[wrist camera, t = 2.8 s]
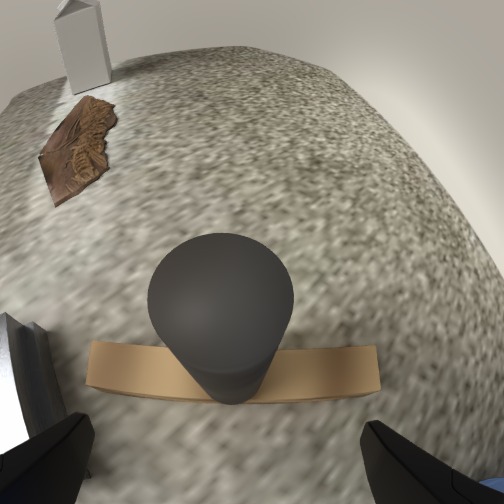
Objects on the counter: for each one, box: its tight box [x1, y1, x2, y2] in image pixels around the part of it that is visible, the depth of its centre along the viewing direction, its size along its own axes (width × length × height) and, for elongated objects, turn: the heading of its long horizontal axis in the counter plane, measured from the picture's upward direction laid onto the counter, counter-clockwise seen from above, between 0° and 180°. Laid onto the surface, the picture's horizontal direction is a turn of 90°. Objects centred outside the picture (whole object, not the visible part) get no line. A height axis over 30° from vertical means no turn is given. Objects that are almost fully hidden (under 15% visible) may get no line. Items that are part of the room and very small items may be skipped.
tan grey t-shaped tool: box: [86, 233, 381, 405], centre depth 13 cm, size 18×4×14 cm, turn 90°
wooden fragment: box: [38, 95, 117, 208], centre depth 33 cm, size 26×11×1 cm, turn 14°
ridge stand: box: [0, 312, 91, 480], centre depth 14 cm, size 12×6×4 cm, turn 28°
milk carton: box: [54, 0, 112, 95], centre depth 35 cm, size 7×7×19 cm
